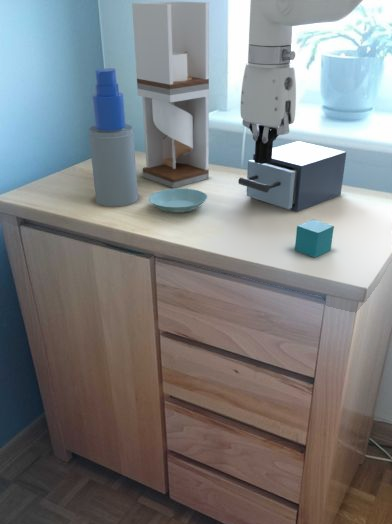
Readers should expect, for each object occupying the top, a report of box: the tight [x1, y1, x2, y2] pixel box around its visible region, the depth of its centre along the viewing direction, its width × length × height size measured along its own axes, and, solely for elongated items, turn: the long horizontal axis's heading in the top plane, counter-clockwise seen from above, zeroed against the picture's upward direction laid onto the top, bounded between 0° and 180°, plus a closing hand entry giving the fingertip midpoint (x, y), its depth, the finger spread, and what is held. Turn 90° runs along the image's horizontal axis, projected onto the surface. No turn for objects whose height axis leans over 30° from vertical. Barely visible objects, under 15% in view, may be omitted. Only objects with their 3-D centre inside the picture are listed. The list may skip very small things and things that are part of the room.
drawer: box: [237, 159, 298, 210], centre depth 114 cm, size 18×11×7 cm, turn 132°
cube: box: [294, 219, 335, 258], centre depth 95 cm, size 4×4×4 cm
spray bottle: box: [88, 67, 139, 208], centre depth 112 cm, size 9×9×25 cm
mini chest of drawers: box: [252, 140, 347, 213], centre depth 117 cm, size 15×13×9 cm
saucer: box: [148, 188, 208, 214], centre depth 114 cm, size 12×12×2 cm
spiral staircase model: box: [131, 0, 210, 189], centre depth 122 cm, size 11×11×35 cm
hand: (262, 161), depth 108 cm, fingers closed
